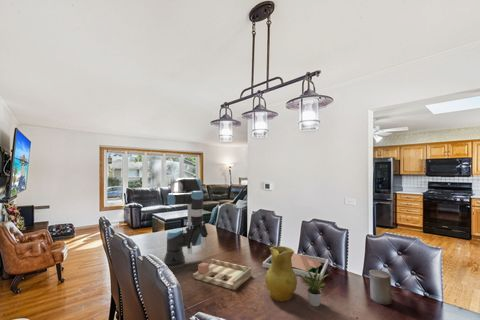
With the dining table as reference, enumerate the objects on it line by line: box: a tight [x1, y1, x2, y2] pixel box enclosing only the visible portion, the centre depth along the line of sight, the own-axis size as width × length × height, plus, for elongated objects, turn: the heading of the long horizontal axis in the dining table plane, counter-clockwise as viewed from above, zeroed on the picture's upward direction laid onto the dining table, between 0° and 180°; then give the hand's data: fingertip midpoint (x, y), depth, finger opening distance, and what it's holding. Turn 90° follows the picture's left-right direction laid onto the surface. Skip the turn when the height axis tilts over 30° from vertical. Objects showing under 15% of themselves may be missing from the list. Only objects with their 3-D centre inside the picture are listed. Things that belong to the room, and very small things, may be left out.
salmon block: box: [197, 261, 210, 274], centre depth 150 cm, size 5×5×5 cm
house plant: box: [301, 268, 328, 307], centre depth 120 cm, size 14×14×16 cm
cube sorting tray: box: [192, 258, 252, 291], centre depth 148 cm, size 31×21×5 cm
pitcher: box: [265, 245, 298, 302], centre depth 128 cm, size 17×19×25 cm
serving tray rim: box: [262, 252, 329, 281], centre depth 167 cm, size 40×30×3 cm
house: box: [291, 252, 323, 273], centre depth 167 cm, size 23×33×8 cm
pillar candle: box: [369, 269, 393, 305], centre depth 123 cm, size 10×10×15 cm
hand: (196, 250), depth 144 cm, fingers open, 12 cm apart
